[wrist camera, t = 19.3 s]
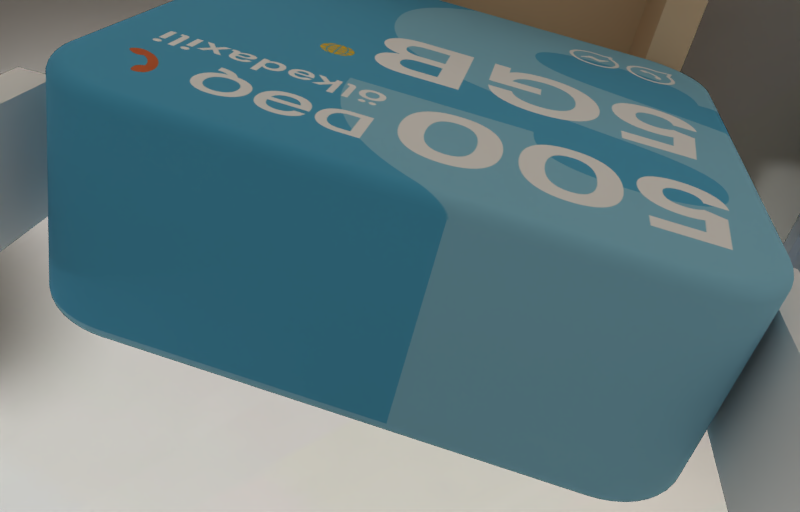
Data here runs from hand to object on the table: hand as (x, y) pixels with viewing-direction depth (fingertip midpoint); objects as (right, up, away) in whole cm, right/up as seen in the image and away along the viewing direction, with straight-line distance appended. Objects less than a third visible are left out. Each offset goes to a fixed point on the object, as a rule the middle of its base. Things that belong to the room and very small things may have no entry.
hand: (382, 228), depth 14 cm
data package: (+2, +4, +8) cm, 9 cm away
